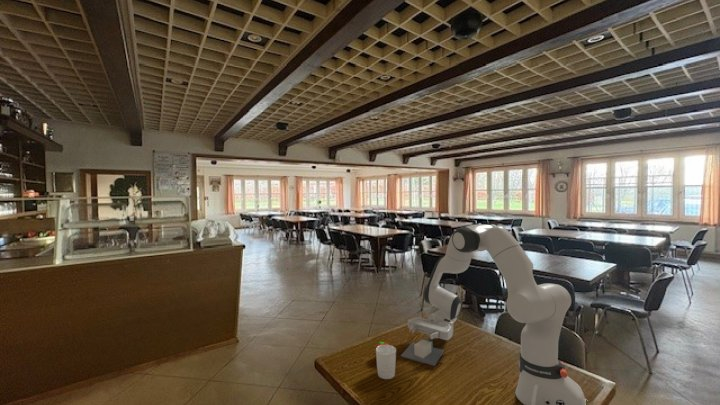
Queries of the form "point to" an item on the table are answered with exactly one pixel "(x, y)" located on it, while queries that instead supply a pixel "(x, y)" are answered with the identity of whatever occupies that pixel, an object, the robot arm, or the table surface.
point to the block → (423, 348)
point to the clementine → (382, 343)
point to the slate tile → (429, 359)
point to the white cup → (386, 361)
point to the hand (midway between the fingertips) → (420, 333)
